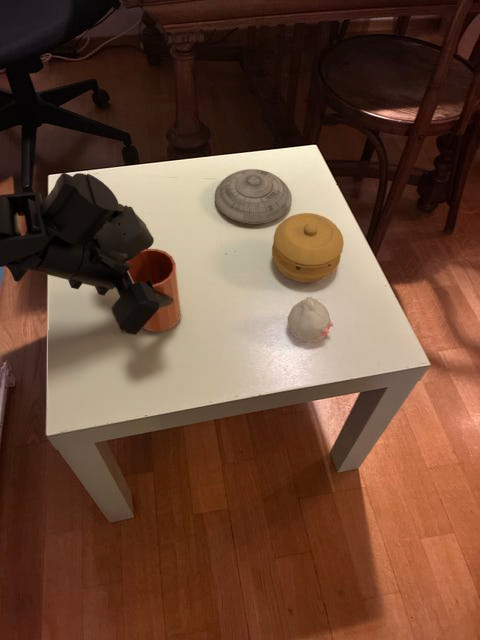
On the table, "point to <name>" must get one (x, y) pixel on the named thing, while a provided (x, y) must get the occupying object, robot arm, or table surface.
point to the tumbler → (158, 284)
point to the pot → (307, 247)
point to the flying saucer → (253, 196)
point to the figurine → (309, 320)
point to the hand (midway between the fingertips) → (162, 283)
